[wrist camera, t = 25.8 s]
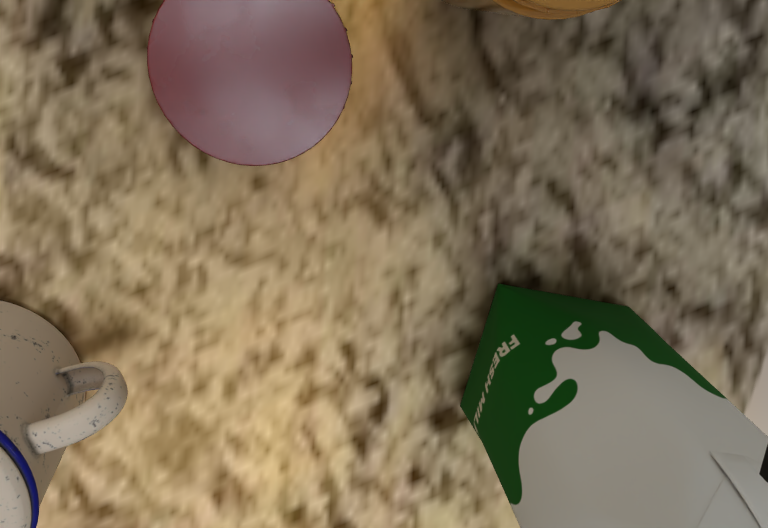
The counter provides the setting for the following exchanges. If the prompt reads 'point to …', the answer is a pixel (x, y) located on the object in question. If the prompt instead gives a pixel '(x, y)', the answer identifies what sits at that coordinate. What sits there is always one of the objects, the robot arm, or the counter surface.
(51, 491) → the counter surface
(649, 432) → the milk carton
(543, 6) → the jam jar
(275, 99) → the jam lid
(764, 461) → the robot arm
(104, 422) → the teacup with lid
